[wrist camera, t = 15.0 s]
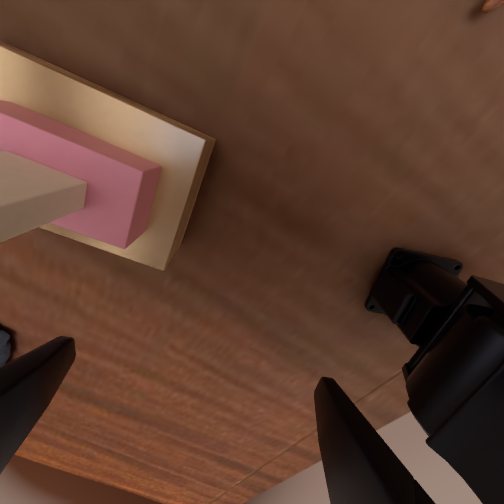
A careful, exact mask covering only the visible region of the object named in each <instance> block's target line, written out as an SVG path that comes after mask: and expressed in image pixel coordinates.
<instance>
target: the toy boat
mask: <svg viewBox="0 0 504 504" xmlns="http://www.w3.org/2000/svg"><path fill="white" fill-rule="evenodd" d="M161 169H162V166H161V165H159V164H157V163H154V162H152V161H150V160H147V159H145V158H143V157H140V156H138V155H136V154H133V153H131V152H128V151H126V150H124V149H121V148H119V147H117V146H114V145H112V144H110V143H107V142H105V141H103V140H100V139H98V138H95V137H93V136H91V135H88V134H86V133H84V132H81V131H79V130H77V129H74V128H72V127H70V126H67V125H65V124H62V123H60V122H58V121H55V120H53V119H51V118H48V117H46V116H44V115H41V114H39V113H37V112H34V111H32V110H29V109H27V108H25V107H22V106H20V105H18V104H15V103H13V102H9V101H2V100H0V243H2V242H4V241H7V240H9V239H11V238H14V237H16V236H18V235H21V234H23V233H26V232H28V231H30V230H33V229H35V228H38V227H40V226H42V225H45V224H47V223H51V224H54V225H57V226H60V227H63V228H65V229H68V230H71V231H74V232H77V233H79V234H82V235H85V236H88V237H91V238H94V239H96V240H99V241H102V242H105V243H108V244H110V245H113V246H116V247H119V248H122V249H126V248H127V247H128V246H129V245H130V244H132V243H133V242H134V241H135V240H136V239H137V238H138V237H139V236H141V235H142V234H143V233H144V232H145V229H146V225H147V221H148V218H149V214H150V210H151V206H152V203H153V199H154V195H155V191H156V188H157V184H158V180H159V176H160V172H161Z"/></svg>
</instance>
